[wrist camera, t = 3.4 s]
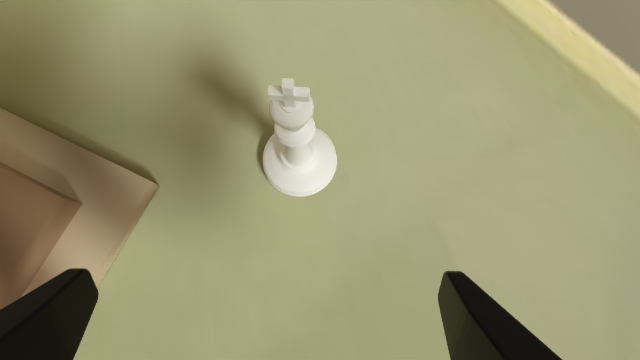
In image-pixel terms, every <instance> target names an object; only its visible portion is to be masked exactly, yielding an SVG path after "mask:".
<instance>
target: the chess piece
mask: <svg viewBox="0 0 640 360" xmlns="http://www.w3.org/2000/svg"><path fill="white" fill-rule="evenodd" d="M268 97H269V100H270V104H269V111H270V115H271V117H272V118H273V120H274V121H275V124H274V134H273V135H272V136H271V137H270V139H269V140H268V142H267V143H266V146H265V148H264V152H263V169H264V172H265V175H266V177H267V179H268V181H269V182H270V183H271V184H272V186H273V187H275V188H276V189H277V190H279V191H280V192H282V193H284V194H287V195H290V196H296V197H303V196H309V195H312V194H315V193H317V192H319V191H320V190H322V189H323V188H324V187H325V186H326V185H327V184H328V183H329V182H330V181H331V179H332V178H333V176H334V173H335V170H336V166H337V156H336V151H335V148H334V145H333V143H332V141H331V140H330V138H329V137H328V136H327V135H326V134H325V133H324V132H323V131H322V130H320V129H318V128H317V127H315V122H314V120H313V118H312V114H313V110H314V104H313V100H312V98H311V96H310V88H308V87H294V79H288V78H283V79H282V86H270V85H269V90H268Z"/></svg>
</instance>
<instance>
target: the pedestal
mask: <svg viewBox="0 0 640 360" xmlns="http://www.w3.org/2000/svg"><path fill="white" fill-rule="evenodd" d="M158 187H159V185H157V184H155V183H153V182H151V181H149V180H147V179H145V178H143V177H141V176H139V175H137V174H135V173H133V172H131V171H129V170H127V169H125V168H123V167H121V166H119V165H117V164H115V163H113V162H111V161H108V160H106V159H104V158H102V157H100V156H98V155H96V154H94V153H92V152H90V151H88V150H86V149H84V148H82V147H80V146H78V145H76V144H74V143H72V142H70V141H67V140H65V139H63V138H61V137H59V136H57V135H55V134H53V133H51V132H49V131H47V130H45V129H43V128H41V127H39V126H37V125H35V124H33V123H31V122H29V121H26V120H24V119H22V118H20V117H18V116H16V115H14V114H12V113H10V112H8V111H6V110H4V109H2V108H0V310H1V309H2V308H4V307H6V306H7V305H9V304H11V303H12V302H14V301H16V300H17V299H19V298H21V297H22V296H24V295H26V294H27V293H29V292H31V291H32V290H34V289H36V288H37V287H39V286H41V285H42V284H44V283H46V282H47V281H49V280H51V279H52V278H54V277H56V276H57V275H59V274H61V273H62V272H64V271H66V270H67V269H71V268H85V269H87V270H89V271H90V273H91V276H92V278H93V280H94V282H95V285H96V287H97V288H98V286H99V284H100V283H101V281H102V279H103V278H104V276H105V275H106V273H107V271H108V270H109V268H110V266H111V265H112V263H113V261H114V260H115V258H116V256H117V255H118V253H119V251H120V250H121V248H122V247H123V245H124V243H125V242H126V240H127V238H128V237H129V235H130V233H131V232H132V230H133V228H134V227H135V225H136V223H137V222H138V220H139V219H140V217H141V215H142V214H143V212H144V210H145V209H146V207H147V205H148V204H149V202H150V200H151V199H152V197H153V196H154V194H155V192H156V191H157V189H158Z"/></svg>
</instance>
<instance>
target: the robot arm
mask: <svg viewBox="0 0 640 360" xmlns="http://www.w3.org/2000/svg"><path fill="white" fill-rule="evenodd" d="M97 300H98V289H97V287H96V285H95V282H94V280H93V278H92V276H91V273H90V271H89V270H87V269H85V268H71V269H67V270H66V271H64V272H62V273H61V274H59V275H57V276H56V277H54V278H52V279H51V280H49V281H47V282H46V283H44V284H42V285H41V286H39V287H37V288H36V289H34V290H32V291H31V292H29V293H27V294H26V295H24V296H22V297H21V298H19V299H17V300H16V301H14V302H12V303H11V304H9V305H7V306H6V307H4V308H2V309H1V310H0V360H73V358H74V356H75V354H76V352H77V349H78V347H79V345H80V342H81V340H82V337H83V335H84V332H85V330H86V327H87V325H88V322H89V320H90V318H91V315H92V313H93V310H94V308H95V305H96V303H97ZM438 303H439V307H440V312H441V317H442V322H443V326H444V331H445V336H446V340H447V345H448V350H449V354H450V359H451V360H562V359H561V358H560V357H559V356H557V355H556V354H555V353H554V352H553V351H552V350H551V349H549V348H548V347H547V346H546V345H545V344H544V343H543V342H542V341H540V340H539V339H538V338H537V337H536V336H535V335H534V334H532V333H531V332H530V331H529V330H528V329H527V328H526V327H524V326H523V325H522V324H521V323H520V322H519V321H518V320H516V319H515V318H514V317H513V316H512V315H511V314H510V313H508V312H507V311H506V310H505V309H504V308H503V307H502V306H500V305H499V304H498V303H497V302H496V301H495V300H494V299H493V298H491V297H490V296H489V295H488V294H487V293H486V292H485V291H483V290H482V289H481V288H480V287H479V286H478V285H477V284H475V283H474V282H473V281H472V280H471V279H470V278H469V277H467V276H466V275H465V274H464V273H463V272H460V271H446V272H445V273H444V274H443V277H442V281H441V285H440V289H439V293H438Z"/></svg>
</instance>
